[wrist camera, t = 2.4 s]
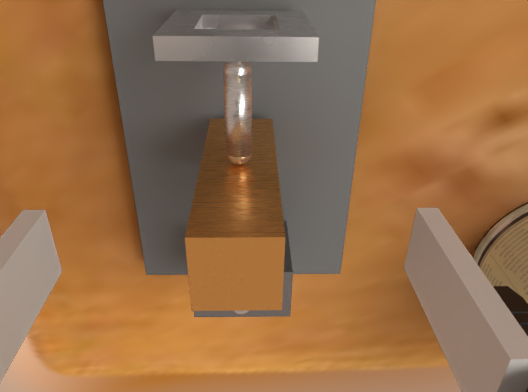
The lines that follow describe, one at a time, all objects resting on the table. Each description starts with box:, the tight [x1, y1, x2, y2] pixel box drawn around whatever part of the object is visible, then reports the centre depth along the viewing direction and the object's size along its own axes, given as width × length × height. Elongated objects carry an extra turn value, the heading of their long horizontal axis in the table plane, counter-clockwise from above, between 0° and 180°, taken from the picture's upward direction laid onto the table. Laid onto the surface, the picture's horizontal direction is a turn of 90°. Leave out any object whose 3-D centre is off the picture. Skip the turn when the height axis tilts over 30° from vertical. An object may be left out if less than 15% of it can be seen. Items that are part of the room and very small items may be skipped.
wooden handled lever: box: [153, 10, 319, 315], centre depth 18 cm, size 13×5×10 cm, turn 179°
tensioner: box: [194, 221, 293, 317], centre depth 25 cm, size 3×5×4 cm, turn 89°
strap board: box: [103, 0, 376, 275], centre depth 22 cm, size 26×12×2 cm, turn 179°
